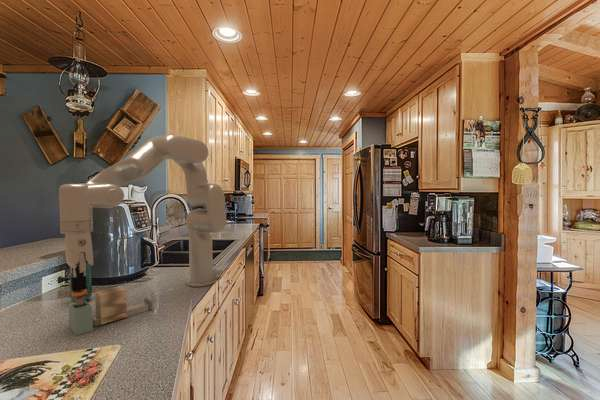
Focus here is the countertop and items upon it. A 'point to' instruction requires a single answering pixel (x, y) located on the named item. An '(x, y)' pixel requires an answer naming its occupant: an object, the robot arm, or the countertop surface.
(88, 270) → the beverage bottle
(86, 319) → the grey-green rectangular block
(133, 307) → the rail
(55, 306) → the countertop surface
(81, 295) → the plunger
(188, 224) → the robot arm
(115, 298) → the light wood block
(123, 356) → the countertop surface
